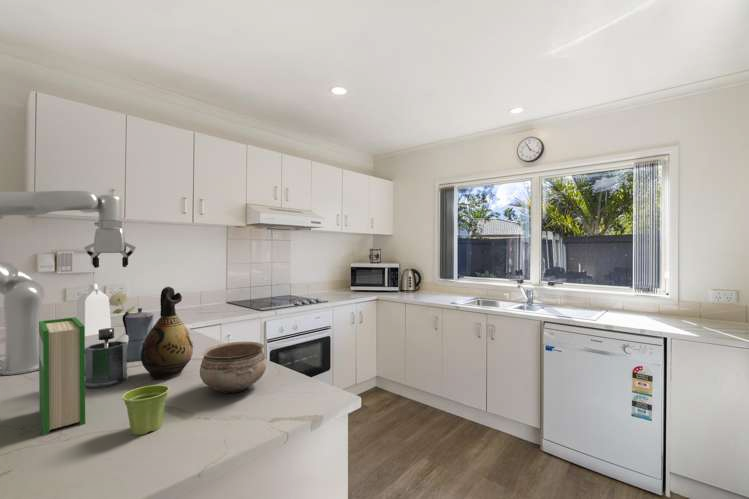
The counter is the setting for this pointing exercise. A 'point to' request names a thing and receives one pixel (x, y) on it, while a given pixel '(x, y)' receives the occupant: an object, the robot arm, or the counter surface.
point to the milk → (93, 310)
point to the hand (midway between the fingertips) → (110, 267)
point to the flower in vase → (116, 301)
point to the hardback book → (61, 373)
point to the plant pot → (145, 407)
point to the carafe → (105, 365)
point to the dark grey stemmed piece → (106, 335)
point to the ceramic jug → (167, 341)
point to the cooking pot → (233, 366)
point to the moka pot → (137, 332)
